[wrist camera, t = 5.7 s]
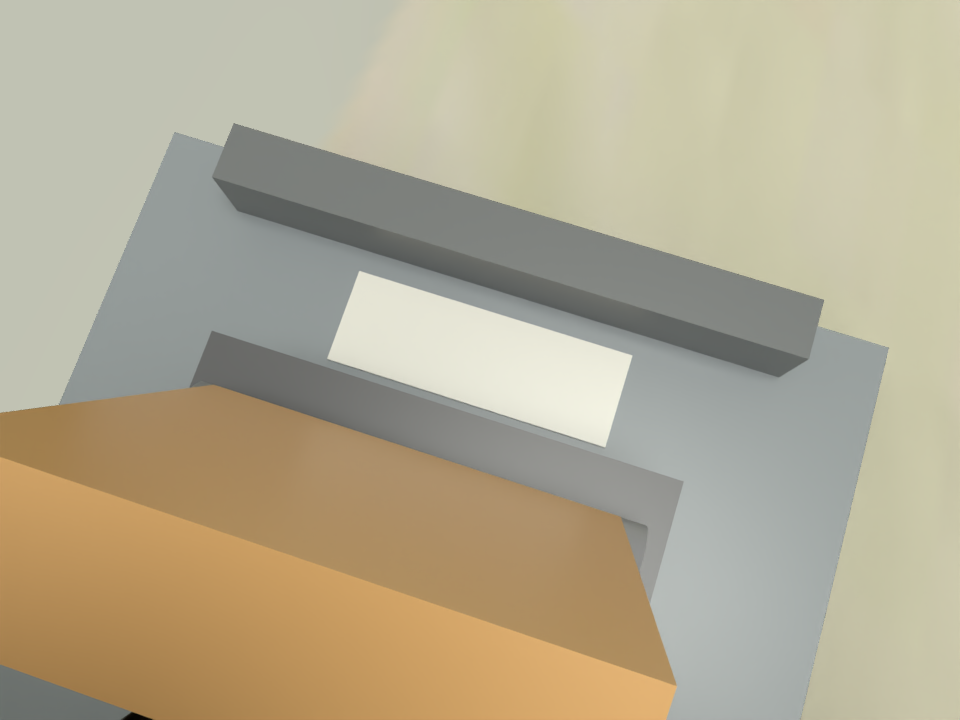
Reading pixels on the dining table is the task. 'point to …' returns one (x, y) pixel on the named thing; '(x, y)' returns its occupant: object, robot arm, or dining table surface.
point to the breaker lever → (307, 573)
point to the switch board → (512, 383)
